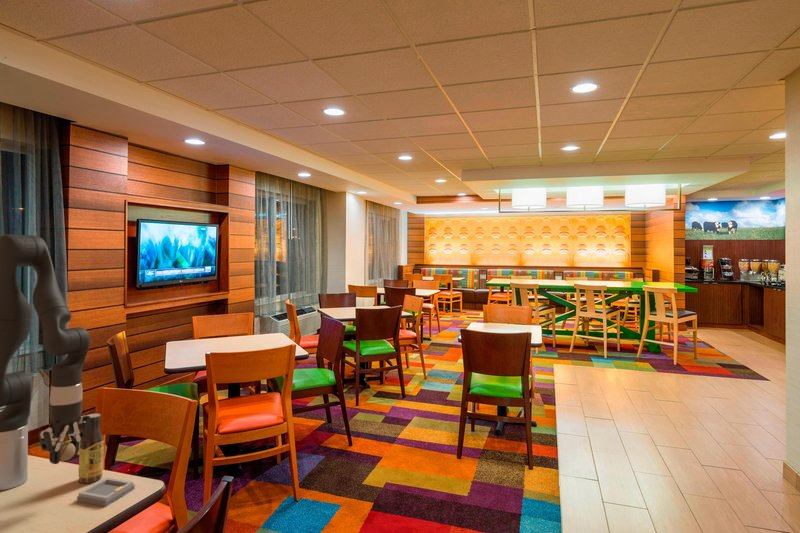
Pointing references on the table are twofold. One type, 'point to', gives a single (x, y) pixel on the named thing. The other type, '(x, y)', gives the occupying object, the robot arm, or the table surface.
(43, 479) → the table surface
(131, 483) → the grey square tray
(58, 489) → the table surface
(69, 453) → the door knob
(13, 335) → the robot arm
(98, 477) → the sauce bottle
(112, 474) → the table surface
